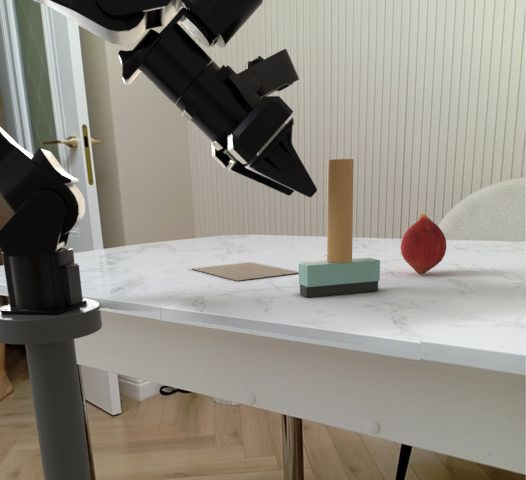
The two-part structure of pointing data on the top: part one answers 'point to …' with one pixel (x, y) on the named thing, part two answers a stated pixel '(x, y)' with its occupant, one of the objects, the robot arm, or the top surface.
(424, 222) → the onion
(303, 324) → the top surface
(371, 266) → the wiper
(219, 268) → the brown flat rectangular panel
